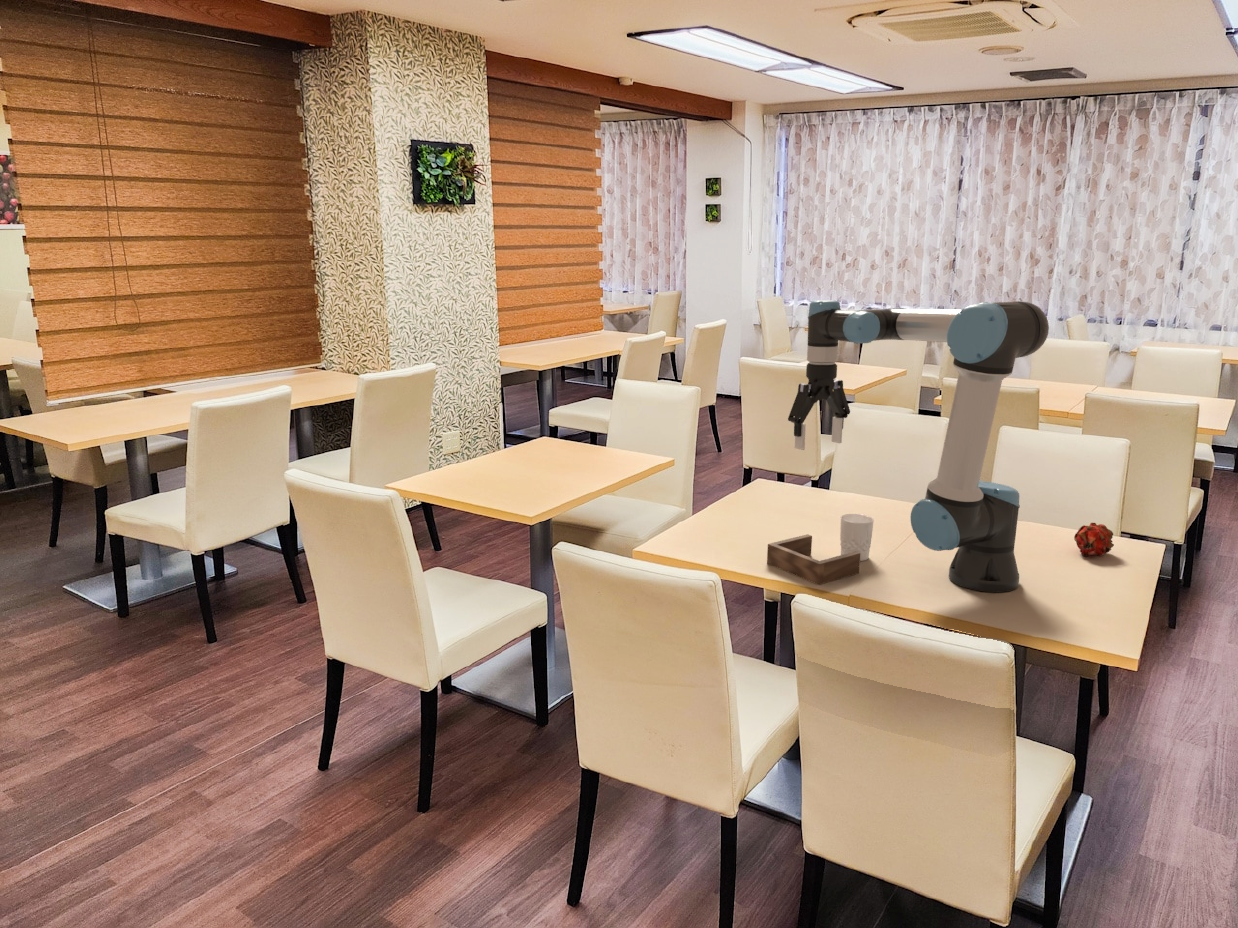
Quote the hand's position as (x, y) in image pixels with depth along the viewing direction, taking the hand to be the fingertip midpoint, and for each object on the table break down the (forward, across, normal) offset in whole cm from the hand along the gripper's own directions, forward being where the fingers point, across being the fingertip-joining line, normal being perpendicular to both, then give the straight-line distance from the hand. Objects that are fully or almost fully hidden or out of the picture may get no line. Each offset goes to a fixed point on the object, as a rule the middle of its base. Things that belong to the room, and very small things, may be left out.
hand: (818, 445), depth 238 cm
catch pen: (+26, +16, +15) cm, 33 cm away
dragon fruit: (+26, -49, +48) cm, 73 cm away
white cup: (+26, +2, +15) cm, 30 cm away
